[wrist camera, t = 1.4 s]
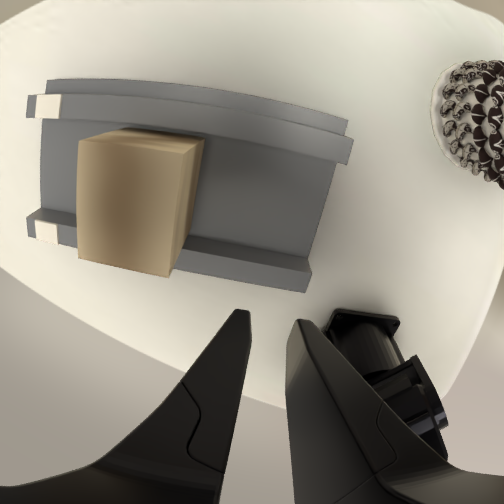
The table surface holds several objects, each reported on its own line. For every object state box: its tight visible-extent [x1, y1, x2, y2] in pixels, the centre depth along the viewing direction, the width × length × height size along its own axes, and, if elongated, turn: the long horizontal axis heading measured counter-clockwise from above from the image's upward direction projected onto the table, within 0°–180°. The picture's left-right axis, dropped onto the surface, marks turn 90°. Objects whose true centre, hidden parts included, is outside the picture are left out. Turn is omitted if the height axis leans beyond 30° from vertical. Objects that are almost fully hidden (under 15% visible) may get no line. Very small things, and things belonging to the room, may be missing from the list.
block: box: [76, 127, 205, 278], centre depth 16 cm, size 5×6×6 cm
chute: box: [26, 79, 354, 293], centre depth 18 cm, size 20×12×3 cm, turn 78°
